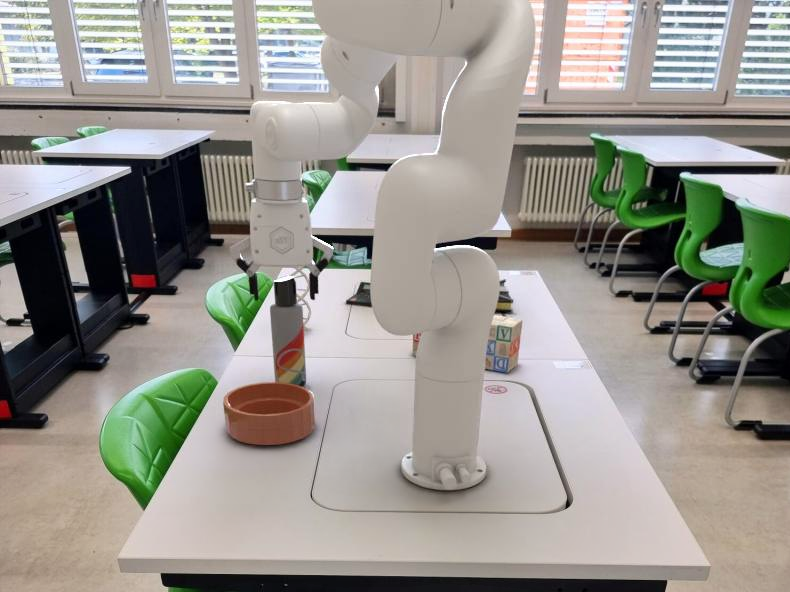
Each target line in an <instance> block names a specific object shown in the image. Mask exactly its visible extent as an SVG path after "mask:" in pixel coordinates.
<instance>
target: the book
mask: <svg viewBox="0 0 790 592" xmlns="http://www.w3.org/2000/svg"><path fill="white" fill-rule="evenodd" d="M506 282H507V279H506V278H503V279H500V291H499V297H498V302H497V306H496V310H495V312H505V313H509V314H513V313H514V309H513V308H512V304H514V298H512V297H511V296H510V290H509V288H508V286H505V283H506Z"/></svg>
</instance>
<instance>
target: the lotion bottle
mask: <svg viewBox="0 0 790 592" xmlns="http://www.w3.org/2000/svg"><path fill="white" fill-rule="evenodd" d="M296 293H297V280H296V278H295V276H293V277H289V276H282V277H279V278H276V279H274V280H273V294H274V302H275V303H272V304H271V305H270V306H269V315H270V329H271V343H272V357H273V370H274V382H281V383H290V384H295V385H299V386H301V387H304V388H306V389H307V367H306V346H305V344H306V343H305V328H304V319H303V318H304V308H303V305H300V304H301V303H299V302H298V303H297V300H298V297H297V294H298V293H297V294H296Z"/></svg>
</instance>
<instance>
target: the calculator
mask: <svg viewBox="0 0 790 592" xmlns="http://www.w3.org/2000/svg"><path fill="white" fill-rule="evenodd" d="M345 304H346V305H352V306H362V307H370V308H372V304H371V295H370V282H366V281H360V283H359V286H358V288H357V290H356V292H355V294H353V295H351V297H349V298H347V299H346V300H345Z"/></svg>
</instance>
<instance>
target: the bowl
mask: <svg viewBox="0 0 790 592" xmlns="http://www.w3.org/2000/svg"><path fill="white" fill-rule="evenodd" d="M222 403H223V404H222V405H223V411H224V422H225V431H226V432H227V434H228V436H230V437H231V438H233V439H235V440H236V441H238V442H242V443H245V444H249V445H258V446H274V445H275V446H277V445H284V444H289V443H293V442H296V441H299V440H301V439H305V438H306V437H307V436H308V435H310V434H312V432H313V431H314V429H315V428H316V423H315V422H316V420H315V417H316V416H315V398H314V394H313V392H311V390H309V389H308V388H307V387H306V388H304V387H301V386H299V385H295V384H290V383H281V382H275V381H267V382H257V383H250V384H249V383H248V384H244V385H241V386H239V387H236V388H234V389H232V390H229V391H228V392H227V393H226V394H225V395H224V396H223V402H222Z"/></svg>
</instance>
